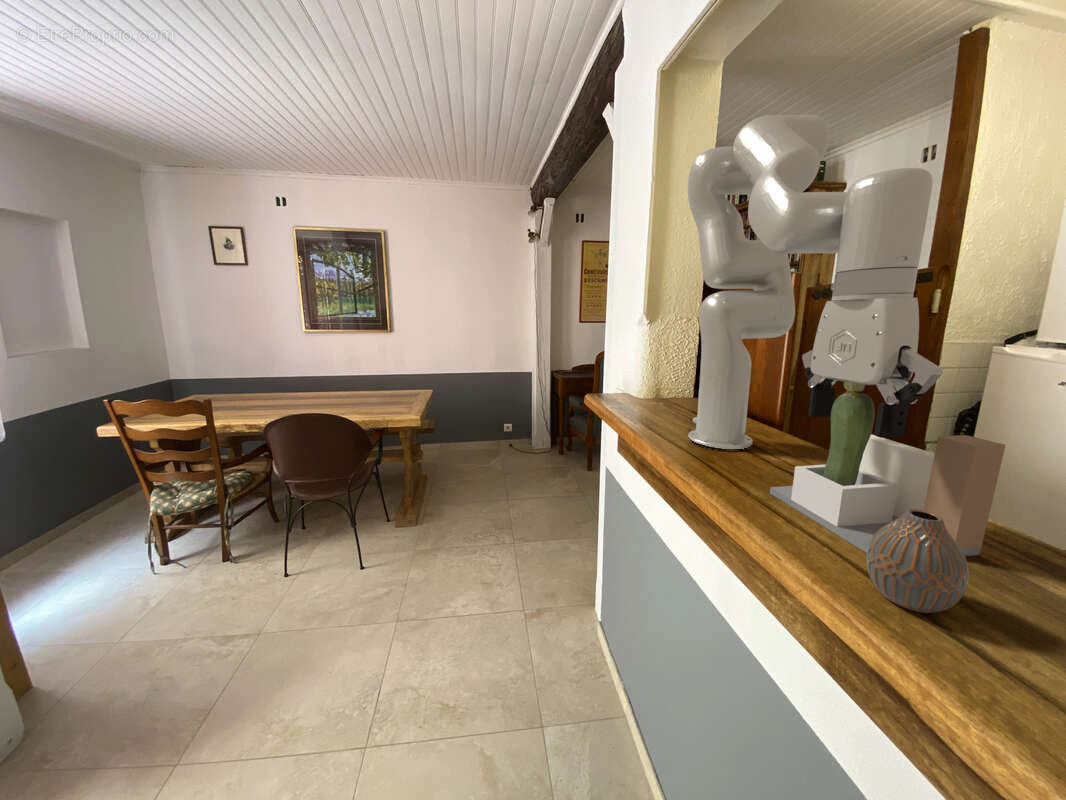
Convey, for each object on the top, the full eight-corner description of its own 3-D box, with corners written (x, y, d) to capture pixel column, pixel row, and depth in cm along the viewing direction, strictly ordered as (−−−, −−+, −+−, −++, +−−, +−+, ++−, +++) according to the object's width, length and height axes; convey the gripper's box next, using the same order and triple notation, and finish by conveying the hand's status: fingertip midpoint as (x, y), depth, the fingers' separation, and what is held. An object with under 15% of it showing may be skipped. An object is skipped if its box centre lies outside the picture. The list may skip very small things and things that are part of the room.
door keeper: (769, 493, 61) (779, 411, 58) (840, 488, 62) (852, 407, 60) (884, 564, 43) (905, 450, 41) (979, 554, 45) (1005, 444, 42)
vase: (925, 633, 34) (945, 540, 32) (844, 582, 41) (857, 503, 39) (979, 616, 36) (1001, 527, 34) (893, 570, 42) (908, 494, 41)
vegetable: (821, 499, 56) (842, 359, 52) (860, 509, 53) (885, 361, 49) (814, 510, 53) (835, 362, 49) (855, 521, 50) (881, 364, 46)
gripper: (789, 292, 55) (776, 411, 59) (921, 281, 39) (892, 448, 42) (837, 291, 56) (822, 409, 60) (988, 280, 39) (954, 444, 43)
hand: (851, 425), depth 51 cm, fingers open, 9 cm apart
